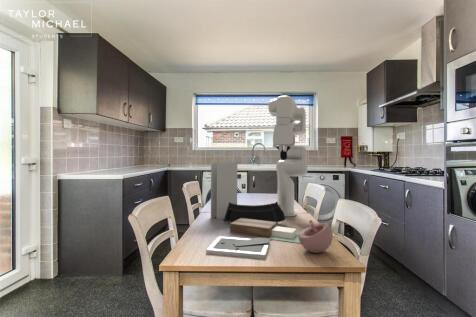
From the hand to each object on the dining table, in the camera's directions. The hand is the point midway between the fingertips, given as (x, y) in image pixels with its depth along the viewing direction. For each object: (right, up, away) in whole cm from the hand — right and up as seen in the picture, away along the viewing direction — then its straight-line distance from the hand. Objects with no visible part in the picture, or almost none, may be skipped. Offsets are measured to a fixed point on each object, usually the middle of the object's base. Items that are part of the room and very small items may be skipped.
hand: (283, 159), depth 137 cm
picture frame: (-21, -34, -32) cm, 51 cm away
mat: (0, -33, -17) cm, 37 cm away
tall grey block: (-30, -32, +18) cm, 47 cm away
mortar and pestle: (+6, -33, -35) cm, 48 cm away
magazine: (-14, -32, +4) cm, 35 cm away
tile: (-2, -32, -16) cm, 36 cm away
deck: (-15, -32, -10) cm, 37 cm away
